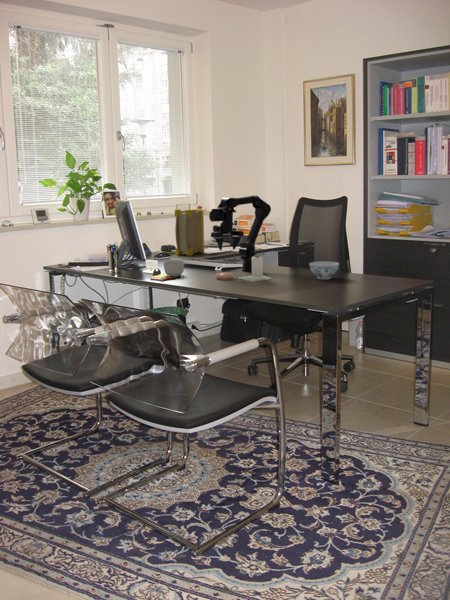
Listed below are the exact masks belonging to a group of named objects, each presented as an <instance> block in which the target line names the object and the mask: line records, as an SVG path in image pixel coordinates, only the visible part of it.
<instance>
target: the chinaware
mask: <svg viewBox="0 0 450 600" xmlns="http://www.w3.org/2000/svg"><path fill="white" fill-rule="evenodd" d="M339 265H340V263H339V262H334V261H313V262H309V268H310V271H311V273H312V274H313V275H314V276H316V277H317V279H318V280H330V279H331V278H332V277H333V276H334V275H335V274H336V273H337V272H338V269H339V267H340V266H339Z"/></svg>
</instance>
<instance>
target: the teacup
mask: <svg viewBox="0 0 450 600" xmlns="http://www.w3.org/2000/svg"><path fill="white" fill-rule="evenodd" d="M184 264H185V263H184V260H183V259H182V260H181V259H174V260H173V259H172V260H166V261H164V262H163V271H164V273H165V275H167V276H168V275H170V276H174V277H179V276H181V275H182V274H183V273H184V271H185V267H184V266H185V265H184ZM170 276H169V277H170Z"/></svg>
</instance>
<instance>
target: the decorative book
mask: <svg viewBox="0 0 450 600" xmlns="http://www.w3.org/2000/svg"><path fill="white" fill-rule="evenodd" d="M174 217H175V229H174V230H175V231H174V232H175V244H176V248H175V255H176V256H181V255H183V254H186V256H187V257H191V256H193V255H194V254H198V253H201V254H202V253H205V228H204V227H205V224H204V223H205V222H204V221H205V220H204V209H200V208H199V209H197V208H196V209H195V208H193V209H184V210H182V209H179V208H178V209H174Z"/></svg>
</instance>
